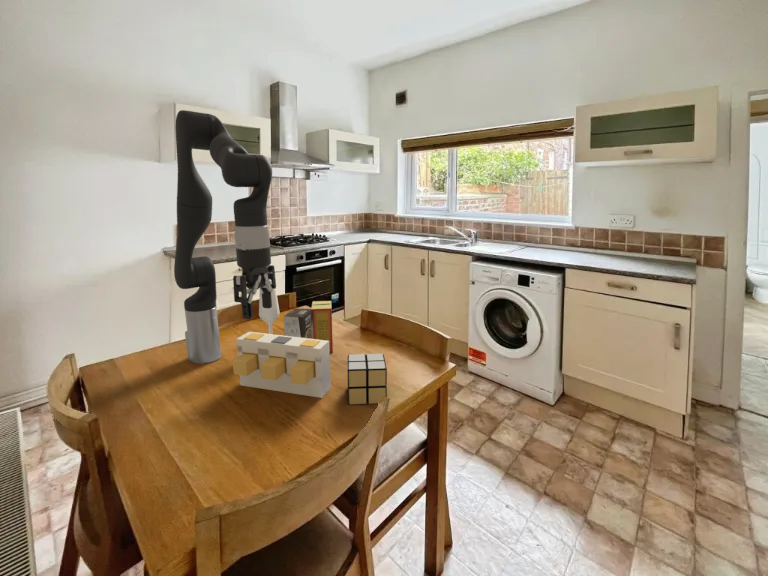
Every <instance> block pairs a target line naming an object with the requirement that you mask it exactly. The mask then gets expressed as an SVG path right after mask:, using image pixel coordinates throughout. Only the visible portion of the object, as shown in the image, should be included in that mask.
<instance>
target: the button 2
mask: <svg viewBox="0 0 768 576" xmlns="http://www.w3.org/2000/svg"><path fill="white" fill-rule="evenodd" d="M286 371H287V368H286V358H284V357H276V356H272V357H270V358H269V359H267V360H266V361H265V362H263V363H262V364H261V373H262V379H269V380H275V381H276V380H277V379H278V378H279V377H280V376H281V375H283V374H284V373H285V372H286Z"/></svg>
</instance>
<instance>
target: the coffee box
mask: <svg viewBox="0 0 768 576" xmlns="http://www.w3.org/2000/svg"><path fill="white" fill-rule="evenodd" d="M283 325H284V326H283V327H284V329H283V330H284V336H292V337H300V338H309V339H314V338H313V313H312V308H297V307H294V308H293V309H292V310H291V311H289V312H287V313H286V314H284V315H283Z"/></svg>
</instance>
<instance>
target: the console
mask: <svg viewBox="0 0 768 576" xmlns="http://www.w3.org/2000/svg"><path fill="white" fill-rule="evenodd" d="M236 350H237V357H239V356H240V355H242V354H243V353H245V352H246V353H254V354H258V360H259V368H257V369H256V370H255V371H253V372H252V373H251V374H249V375H248V376H242V375H239V383H240V386H242V387H243V386H244V387H249V388H254V389H255V388H256V389H263V390H268V391H275V392H281V393H282V392H283V393H289V394H294V395H301V396H308V397H313V398H321V399H322V398H323V397H324V396H325V395H326V393H327V392H329V390H331V360H330V359H331V357H330V356H331V355H330V354H331V353H330V351H329V341H326V340H318V339H309V338H300V337H292V336H285V335H281V334H269V333H266V332H265V333H264V332H258V331H257V332H256V331H247V332H245V333H244V334H243V335H240V336H239V337H237V338H236ZM272 356H276V357H284V358H286V368H287V371H286V372H285V373H284V374H283V375H281V376H280V377H279V378H278V379H277V380H276V381H275V380H269V379H262V373H261V364H262V363H263V362H265V361H266V360H267V359H269V358H270V357H272ZM300 360H307V361H315V376H314V377H313V378H312V379H311V380H310V381H309V382H308V383H307V384H306V385H302V384H296V383H291V372H290V368H291V367H293V366H294V365H295V364H296V363H297V362H298V361H300Z"/></svg>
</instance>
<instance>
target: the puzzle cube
mask: <svg viewBox="0 0 768 576" xmlns="http://www.w3.org/2000/svg"><path fill="white" fill-rule="evenodd" d="M386 364H387V362H386V358H385V353H384V354H383V353H367V354H364V353H359V354H358V353H357V354H348V355H347V401H348V402H347V403H348V405H350V406H352V405H353V406H354V405H355V406H357V405H367V404H368V405H374V404H375V405H378V401H379V400H380V398H382V397H387V395H388V393H387V391H388V390H387V388H388V386H387V384H388V383H387V382H388V378H387V377H388V371H387V370H388V369H387V365H386Z"/></svg>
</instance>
